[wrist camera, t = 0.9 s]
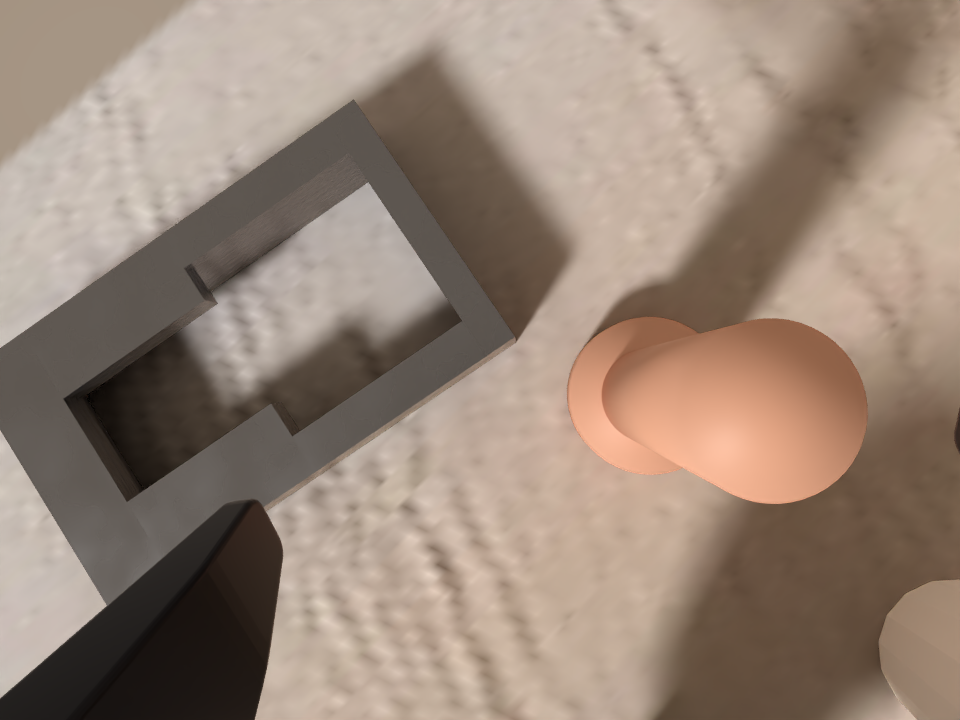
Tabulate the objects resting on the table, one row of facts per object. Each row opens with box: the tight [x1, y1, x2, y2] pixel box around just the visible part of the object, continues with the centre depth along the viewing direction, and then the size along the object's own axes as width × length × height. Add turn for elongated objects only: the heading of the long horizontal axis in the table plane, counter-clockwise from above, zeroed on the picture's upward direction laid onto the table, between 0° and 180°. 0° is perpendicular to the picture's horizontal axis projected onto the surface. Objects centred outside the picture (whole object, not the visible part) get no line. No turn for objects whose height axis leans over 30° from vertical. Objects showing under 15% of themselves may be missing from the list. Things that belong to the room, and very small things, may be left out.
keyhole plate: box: [0, 100, 516, 605], centre depth 24 cm, size 18×11×3 cm, turn 124°
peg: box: [567, 317, 868, 504], centre depth 18 cm, size 6×6×13 cm
